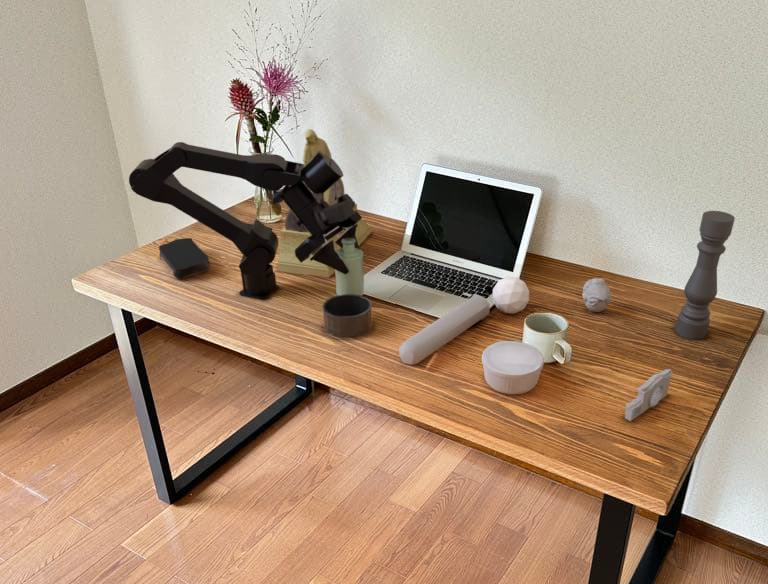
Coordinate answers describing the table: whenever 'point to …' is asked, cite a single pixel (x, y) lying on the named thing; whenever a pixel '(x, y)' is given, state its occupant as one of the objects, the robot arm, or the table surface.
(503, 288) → the ball
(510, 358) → the ramekin
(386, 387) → the table surface
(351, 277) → the bottle
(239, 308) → the table surface
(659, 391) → the garden wall model
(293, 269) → the decorative clock
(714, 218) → the candle holder
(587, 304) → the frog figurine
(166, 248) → the black sponge
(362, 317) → the cup
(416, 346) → the tube
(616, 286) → the table surface
